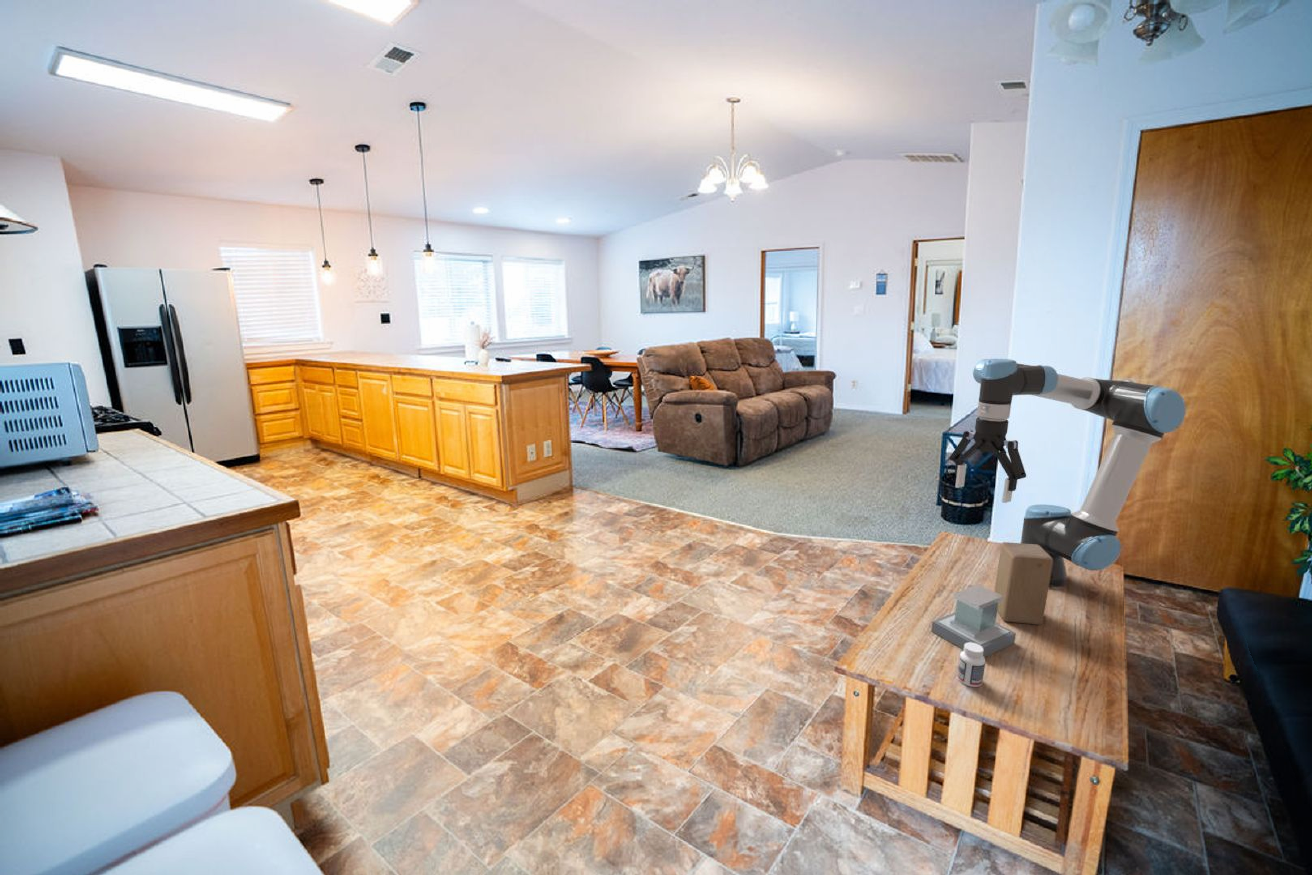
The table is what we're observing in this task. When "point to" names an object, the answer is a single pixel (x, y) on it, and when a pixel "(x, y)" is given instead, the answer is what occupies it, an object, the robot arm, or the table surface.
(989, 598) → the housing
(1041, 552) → the wooden block
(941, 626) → the stand
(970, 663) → the pill bottle
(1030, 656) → the table surface
